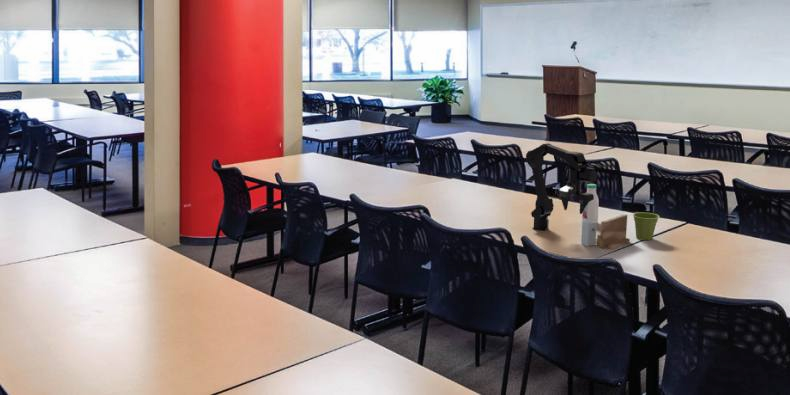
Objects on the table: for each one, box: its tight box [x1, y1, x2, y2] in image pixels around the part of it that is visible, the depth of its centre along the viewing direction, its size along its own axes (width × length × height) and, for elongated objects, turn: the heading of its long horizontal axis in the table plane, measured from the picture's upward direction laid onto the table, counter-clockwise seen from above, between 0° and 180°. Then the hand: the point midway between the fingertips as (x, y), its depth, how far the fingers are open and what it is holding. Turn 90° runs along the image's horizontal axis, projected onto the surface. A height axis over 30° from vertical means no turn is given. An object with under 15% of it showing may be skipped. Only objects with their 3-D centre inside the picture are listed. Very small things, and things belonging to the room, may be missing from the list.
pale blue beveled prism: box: [580, 221, 598, 247], centre depth 330 cm, size 5×5×10 cm
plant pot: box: [632, 211, 660, 241], centre depth 339 cm, size 12×12×11 cm
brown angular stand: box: [596, 214, 631, 250], centre depth 332 cm, size 14×20×12 cm
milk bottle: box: [581, 183, 600, 223], centre depth 368 cm, size 8×8×20 cm
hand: (573, 212), depth 342 cm, fingers open, 9 cm apart
